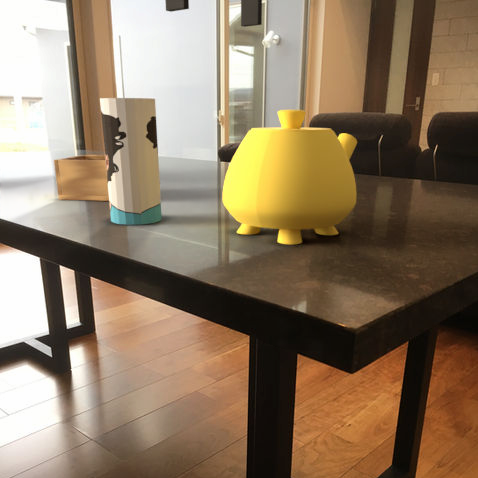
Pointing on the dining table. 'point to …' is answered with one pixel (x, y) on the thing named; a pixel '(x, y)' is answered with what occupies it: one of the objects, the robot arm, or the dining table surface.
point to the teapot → (291, 179)
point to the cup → (131, 159)
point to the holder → (82, 178)
